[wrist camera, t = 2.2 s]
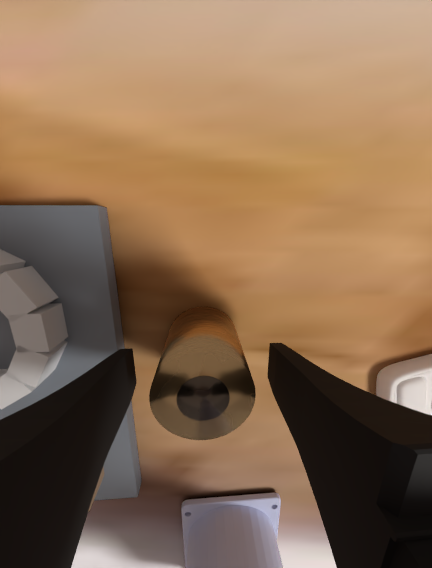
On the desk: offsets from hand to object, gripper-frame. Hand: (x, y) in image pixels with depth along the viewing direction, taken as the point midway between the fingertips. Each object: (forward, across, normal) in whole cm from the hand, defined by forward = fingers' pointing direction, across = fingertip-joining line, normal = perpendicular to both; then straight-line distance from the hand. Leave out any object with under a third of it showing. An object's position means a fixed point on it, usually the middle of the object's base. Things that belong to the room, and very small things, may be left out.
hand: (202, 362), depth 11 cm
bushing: (+3, 0, 0) cm, 3 cm away
